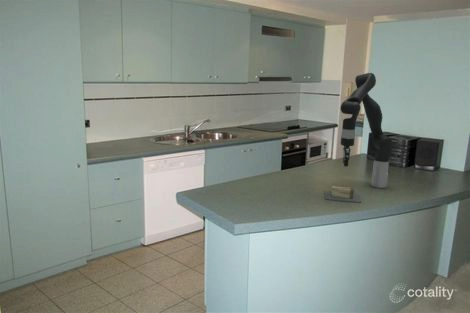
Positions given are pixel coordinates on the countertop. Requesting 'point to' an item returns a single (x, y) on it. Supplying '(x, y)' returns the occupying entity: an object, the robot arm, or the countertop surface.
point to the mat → (355, 198)
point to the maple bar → (342, 192)
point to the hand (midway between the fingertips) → (345, 164)
